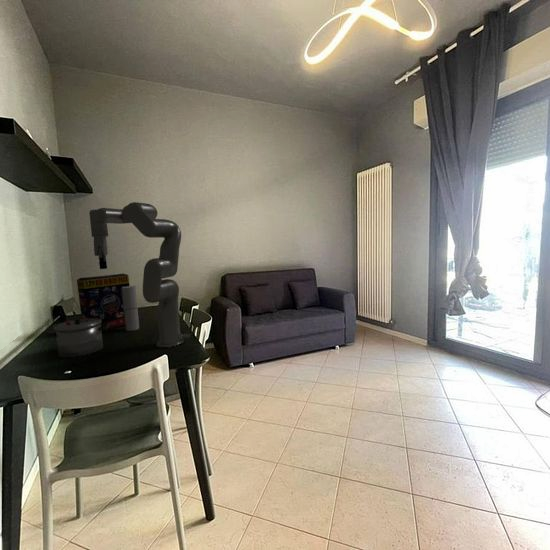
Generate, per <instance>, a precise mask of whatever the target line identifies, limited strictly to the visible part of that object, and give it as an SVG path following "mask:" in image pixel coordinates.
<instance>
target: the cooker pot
mask: <svg viewBox="0 0 550 550" xmlns="http://www.w3.org/2000/svg"><path fill="white" fill-rule="evenodd" d="M108 327H109V324H102V325H101V324H99V325H97V326H94V327H90V328H86V329H81V330H75V331H55V330H54V329H53V330H49V331H48V332H47V333H46V338H52V337H55V338H56V339H55V340H56V347H57V355H58V357H60V358H65V359H68V358H67V357H72V358H77V357H76V356H79V357H81V356H80V355H84V356H87V355H86V354H88V355H91V354H90V353H92V354H94V353H93V352H95V353H97V352H99V351H101V350H103V348H104V344H103V343H104V341H103V333H102V332H103V331H107V330H109V329H108ZM101 330H103V331H101ZM100 349H101V350H100ZM98 350H99V351H98ZM96 351H97V352H96Z"/></svg>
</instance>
